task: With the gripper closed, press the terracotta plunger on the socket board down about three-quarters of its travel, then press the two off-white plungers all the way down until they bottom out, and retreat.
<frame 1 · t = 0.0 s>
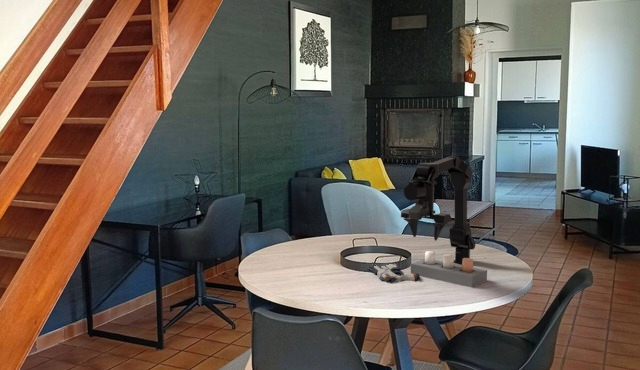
hand: (425, 238, 230), 15 cm above the table, fingers open, 9 cm apart
toy gun: (393, 276, 235), on the table
plug white mid: (448, 262, 231), point 6 cm above the table, slide at 0.0 cm
plug terracotta: (467, 265, 225), point 6 cm above the table, slide at 0.0 cm
socket board: (448, 277, 231), on the table
plug white near: (430, 258, 236), point 6 cm above the table, slide at 0.0 cm
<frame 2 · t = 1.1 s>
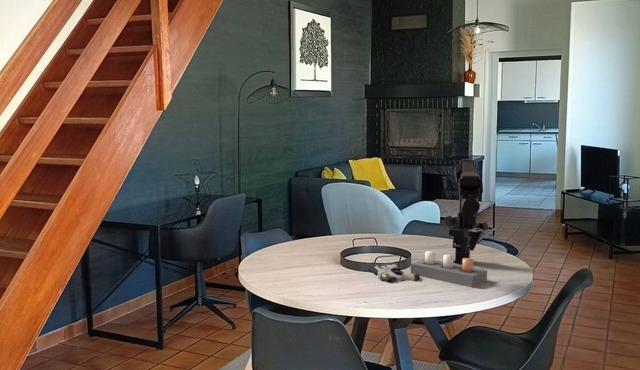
hand: (467, 251, 225), 11 cm above the table, fingers open, 5 cm apart
nothing on the table moved.
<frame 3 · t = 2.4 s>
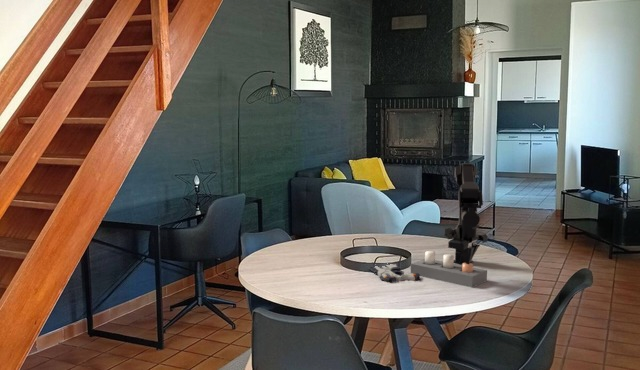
hand: (467, 263, 225), 7 cm above the table, fingers closed, pressing on plug terracotta
plug terracotta: (467, 270, 226), point 4 cm above the table, slide at 1.8 cm, touching gripper
everything else where it was.
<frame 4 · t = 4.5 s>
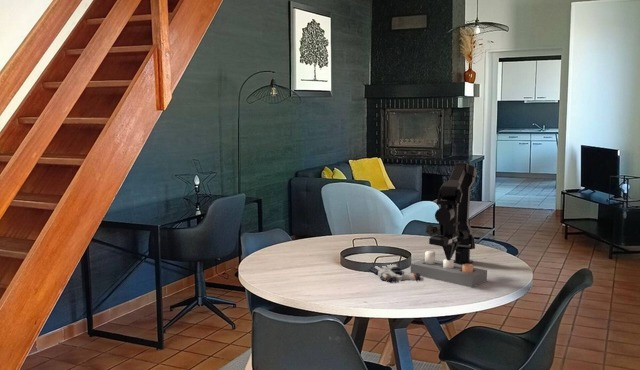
hand: (448, 260, 231), 7 cm above the table, fingers closed, pressing on plug white mid
plug white mid: (448, 266, 231), point 4 cm above the table, slide at 1.7 cm, touching gripper
plug terracotta: (467, 271, 226), point 4 cm above the table, slide at 2.1 cm
everything else where it was.
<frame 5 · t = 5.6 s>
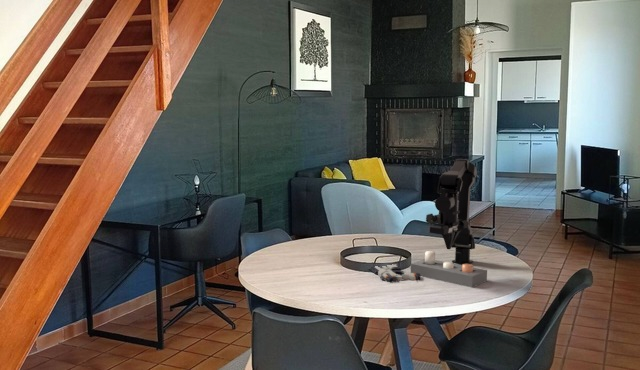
hand: (448, 249, 230), 11 cm above the table, fingers closed
plug white mid: (448, 269, 231), point 3 cm above the table, slide at 2.9 cm
everything else where it was.
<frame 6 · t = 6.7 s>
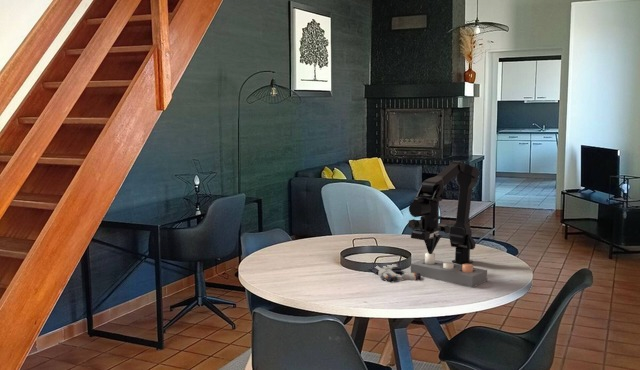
hand: (430, 253, 236), 8 cm above the table, fingers closed, pressing on plug white near
plug white near: (430, 260, 236), point 5 cm above the table, slide at 0.6 cm, touching gripper
everything else where it was.
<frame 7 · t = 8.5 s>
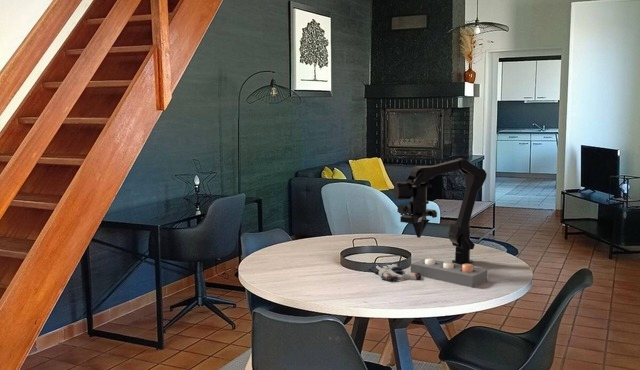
hand: (418, 237, 245), 12 cm above the table, fingers closed
plug white near: (429, 266, 236), point 3 cm above the table, slide at 2.9 cm
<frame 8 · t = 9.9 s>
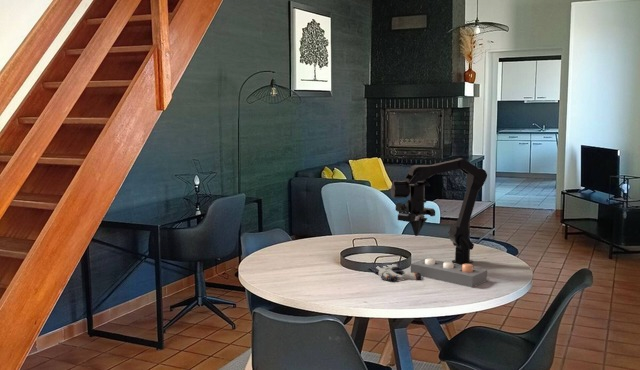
hand: (416, 235, 248), 12 cm above the table, fingers closed
at the end: plug terracotta slide at 2.1 cm; plug white mid slide at 2.9 cm; plug white near slide at 2.9 cm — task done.
